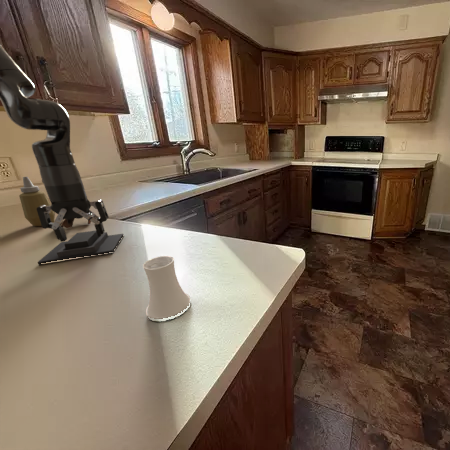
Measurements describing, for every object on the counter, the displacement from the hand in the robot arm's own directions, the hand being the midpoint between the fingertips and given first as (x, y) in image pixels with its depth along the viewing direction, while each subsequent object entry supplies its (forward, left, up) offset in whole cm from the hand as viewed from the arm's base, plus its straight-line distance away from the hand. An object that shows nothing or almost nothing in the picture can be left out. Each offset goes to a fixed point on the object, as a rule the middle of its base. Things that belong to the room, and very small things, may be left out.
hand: (82, 237), depth 71 cm
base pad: (0, 0, -4) cm, 4 cm away
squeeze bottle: (-23, +35, -4) cm, 42 cm away
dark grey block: (0, 0, -3) cm, 3 cm away
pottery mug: (-11, +26, -4) cm, 28 cm away
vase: (+24, -40, -4) cm, 47 cm away
